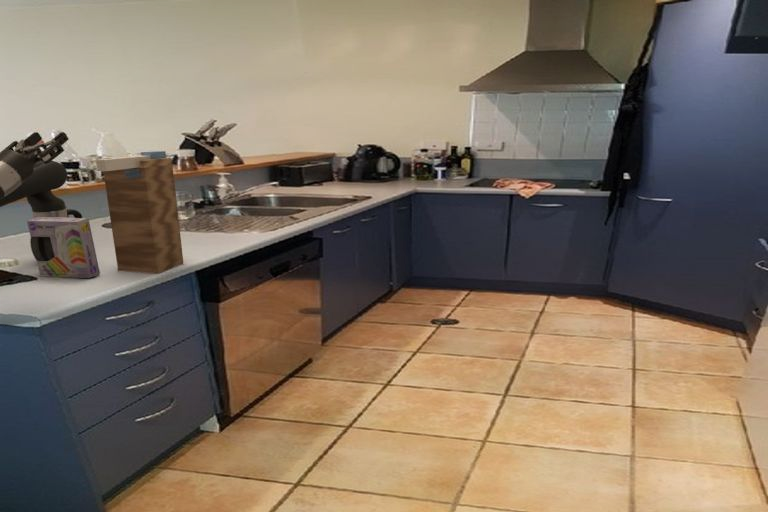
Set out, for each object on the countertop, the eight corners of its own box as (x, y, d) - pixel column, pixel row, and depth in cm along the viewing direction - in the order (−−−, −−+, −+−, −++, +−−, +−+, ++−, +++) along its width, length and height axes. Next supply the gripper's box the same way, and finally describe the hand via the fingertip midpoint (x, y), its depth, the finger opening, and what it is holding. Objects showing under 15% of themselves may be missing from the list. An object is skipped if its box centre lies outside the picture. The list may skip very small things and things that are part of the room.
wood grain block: (156, 274, 153) (141, 160, 144) (116, 270, 158) (99, 160, 149) (183, 263, 165) (171, 157, 156) (145, 260, 169) (132, 157, 160)
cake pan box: (34, 276, 153) (23, 218, 148) (49, 271, 157) (38, 215, 153) (88, 280, 148) (78, 220, 144) (101, 275, 153) (92, 217, 149)
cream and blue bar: (108, 171, 136) (105, 156, 135) (96, 170, 137) (94, 155, 136) (169, 164, 158) (167, 151, 157) (158, 163, 159) (156, 150, 158)
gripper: (17, 160, 111) (65, 121, 122) (-31, 159, 115) (20, 122, 126) (38, 187, 116) (83, 148, 127) (-8, 186, 120) (39, 147, 131)
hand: (52, 135), depth 126 cm, fingers open, 8 cm apart
